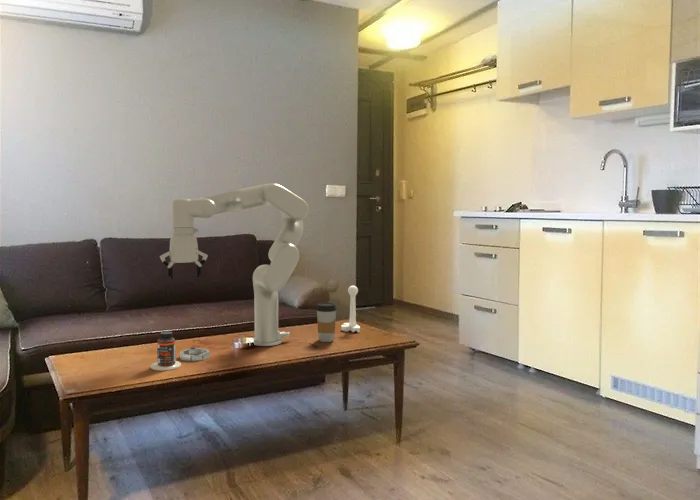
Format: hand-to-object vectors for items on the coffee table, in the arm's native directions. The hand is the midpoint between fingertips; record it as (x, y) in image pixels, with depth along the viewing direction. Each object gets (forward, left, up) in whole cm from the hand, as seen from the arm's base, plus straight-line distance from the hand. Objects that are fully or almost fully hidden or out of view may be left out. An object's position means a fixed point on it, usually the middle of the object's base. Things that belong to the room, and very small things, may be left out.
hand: (184, 277), depth 219 cm
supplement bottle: (+9, +17, -28) cm, 34 cm away
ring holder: (-2, +9, -28) cm, 30 cm away
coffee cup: (-56, +3, -28) cm, 63 cm away
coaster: (+9, +17, -28) cm, 34 cm away
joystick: (-72, -10, -28) cm, 78 cm away
